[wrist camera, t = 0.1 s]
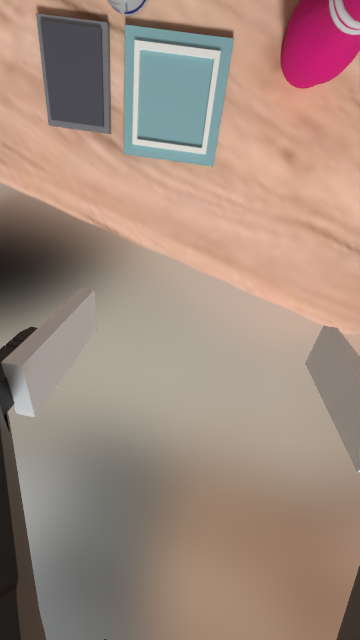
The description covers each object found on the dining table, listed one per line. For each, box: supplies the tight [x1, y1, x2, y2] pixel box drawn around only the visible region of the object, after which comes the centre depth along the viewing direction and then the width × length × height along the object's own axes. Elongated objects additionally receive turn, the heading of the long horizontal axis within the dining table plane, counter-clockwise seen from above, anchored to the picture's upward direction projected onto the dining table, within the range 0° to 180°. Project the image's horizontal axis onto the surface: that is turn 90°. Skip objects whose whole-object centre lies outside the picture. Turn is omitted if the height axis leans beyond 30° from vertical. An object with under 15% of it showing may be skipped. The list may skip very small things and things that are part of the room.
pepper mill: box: [281, 0, 360, 88], centre depth 20 cm, size 7×7×20 cm
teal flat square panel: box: [124, 25, 234, 166], centre depth 31 cm, size 12×12×1 cm
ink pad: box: [36, 13, 111, 134], centre depth 31 cm, size 10×8×1 cm
